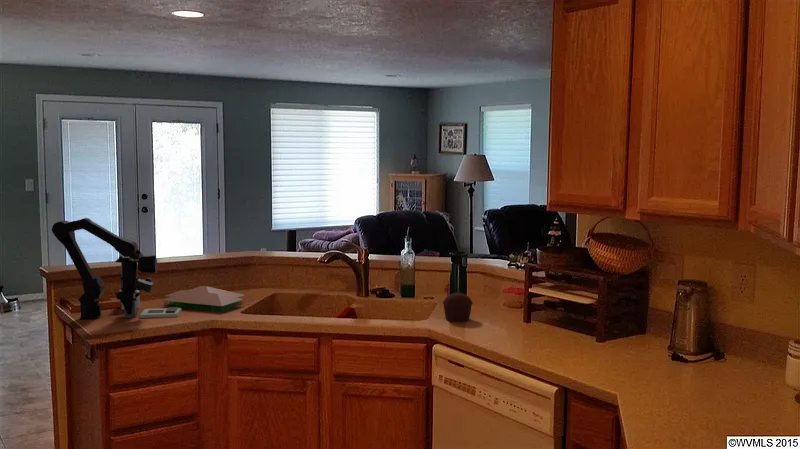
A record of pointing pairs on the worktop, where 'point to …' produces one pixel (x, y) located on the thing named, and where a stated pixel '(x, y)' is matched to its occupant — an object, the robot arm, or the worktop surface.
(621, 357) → the worktop surface
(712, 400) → the worktop surface
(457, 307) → the muffin
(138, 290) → the medicine bottle
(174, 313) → the plate
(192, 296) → the house
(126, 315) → the block
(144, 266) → the robot arm
